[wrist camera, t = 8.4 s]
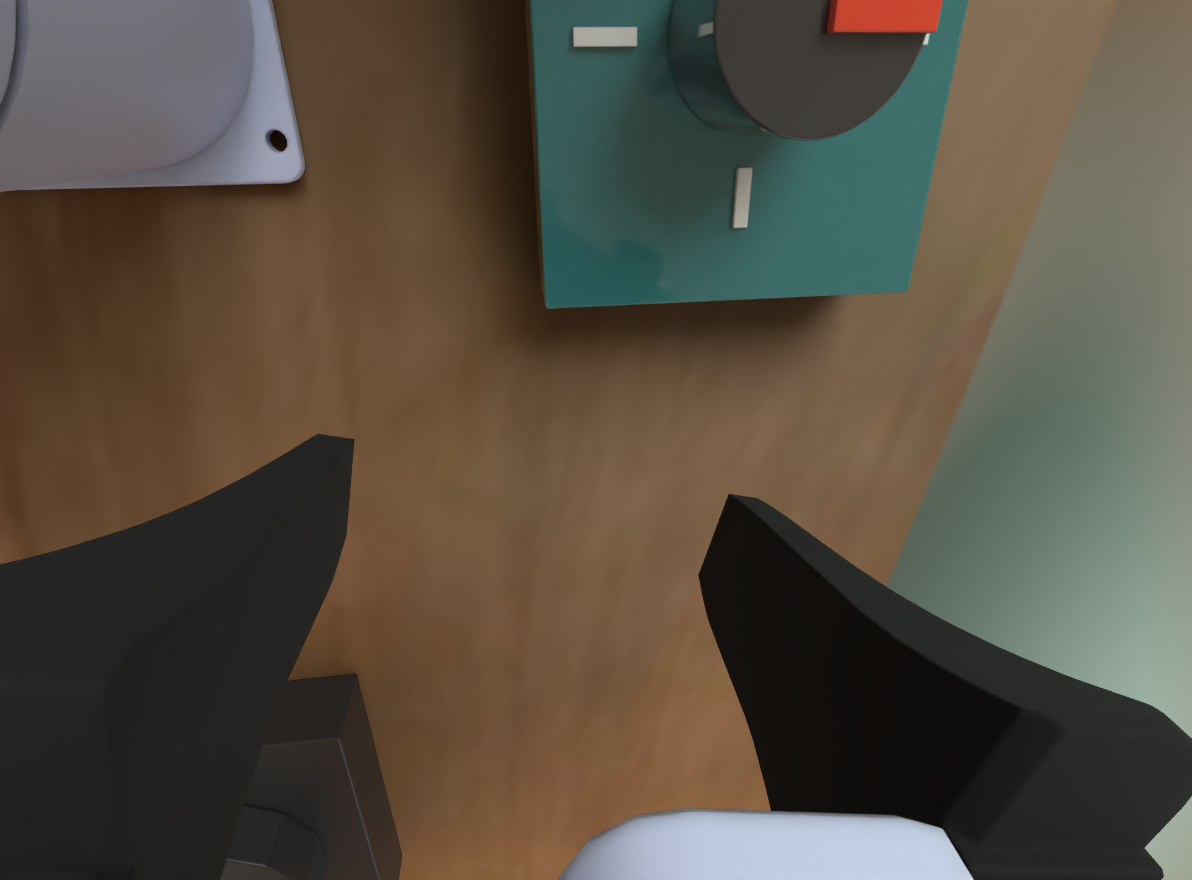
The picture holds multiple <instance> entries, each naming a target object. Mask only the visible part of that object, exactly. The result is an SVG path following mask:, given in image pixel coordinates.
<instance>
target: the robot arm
mask: <svg viewBox="0 0 1192 880" xmlns="http://www.w3.org/2000/svg"><path fill="white" fill-rule="evenodd" d="M274 130H278V131H280V132H281V133H283V134H284V135H285V137H286V139H287V148H286V149H285V150H284V151H283V152H281V151H278V150H276V149H275V148H274V147H273V146H272V144H271V141H270V135H271V133H272V132H273V131H274ZM304 170H305V160H304V155H303V150H302V145H301V140H300V135H299V130H298V125H297V120H296V115H295V110H294V105H293V100H292V95H291V90H290V85H289V81H288V76H287V71H286V66H285V61H284V56H283V51H282V46H281V41H280V36H279V31H278V26H277V21H276V16H275V11H274V6H273V1H272V0H0V192H4V191H11V190H41V189H81V188H120V187H159V186H198V185H237V184H277V183H289V182H293V181H296V180H298V179H299V178H300V177H301V176H302V175H303V172H304ZM353 450H354V439H349V438H343V437H336V436H329V435H322V434H317V435H315V436H314V437H312V438H310V439H308V440H307V441H305V442H303V443H302V444H300V445H298V446H297V447H295V448H294V449H292V450H290V451H289V452H287V453H285V454H284V455H282V456H280V457H279V458H277V459H275V460H274V461H272V462H270V463H268V464H267V465H265V466H263V467H261V468H260V469H258V470H256V471H255V472H253V473H251V474H249V475H248V476H246V477H244V478H242V479H240V480H238V481H236V482H234V483H232V484H230V485H228V486H226V487H224V488H222V489H220V490H218V491H216V492H214V493H212V494H210V495H208V496H206V497H204V498H202V499H200V500H198V501H196V502H194V503H191V504H189V505H187V506H185V507H182V508H180V509H178V510H175V511H173V512H170V513H168V514H165V515H163V516H160V517H158V518H155V519H152V520H150V521H147V522H145V523H142V524H139V525H137V526H134V527H131V528H128V529H125V530H122V531H119V532H115V533H112V534H109V535H106V536H102V537H99V538H96V539H93V540H90V541H86V542H83V543H80V544H77V545H74V546H70V547H67V548H64V549H60V550H57V551H53V552H49V553H45V554H41V555H37V556H33V557H29V558H25V559H21V560H17V561H13V562H8V563H4V564H0V880H221V876H222V873H223V870H224V867H225V863H226V860H227V857H228V854H229V850H230V847H231V844H232V841H233V837H234V834H235V831H236V828H237V825H238V821H239V818H240V815H241V812H242V809H243V806H244V803H245V800H246V796H247V793H248V790H249V787H250V784H251V781H252V778H253V775H254V772H255V768H256V765H257V762H258V759H259V756H260V753H261V750H262V747H263V744H264V741H265V738H266V735H267V732H268V729H269V726H270V723H271V721H272V718H273V715H274V712H275V709H276V706H277V704H278V701H279V699H280V696H281V694H282V692H283V689H284V687H285V684H286V682H287V680H288V678H289V675H290V673H291V671H292V669H293V667H294V665H295V662H296V660H297V658H298V656H299V654H300V651H301V649H302V647H303V645H304V643H305V641H306V638H307V636H308V634H309V632H310V630H311V628H312V625H313V623H314V621H315V619H316V617H317V614H318V612H319V610H320V608H321V606H322V603H323V601H324V599H325V597H326V594H327V592H328V590H329V588H330V585H331V583H332V581H333V578H334V575H335V571H336V568H337V565H338V562H339V558H340V555H341V551H342V548H343V545H344V541H345V538H346V534H347V522H348V510H349V498H350V486H351V474H352V462H353ZM699 580H700V585H701V590H702V595H703V600H704V604H705V609H706V613H707V617H708V620H709V623H710V626H711V629H712V631H713V634H714V637H715V639H716V642H717V645H718V647H719V650H720V653H721V655H722V658H723V661H724V663H725V666H726V668H727V671H728V673H729V676H730V679H731V681H732V684H733V686H734V689H735V691H736V694H737V697H738V699H739V702H740V704H741V707H742V710H743V712H744V715H745V717H746V720H747V723H748V726H749V729H750V732H751V735H752V738H753V742H754V745H755V749H756V753H757V757H758V760H759V764H760V768H761V772H762V775H763V779H764V783H765V787H766V791H767V795H768V799H769V804H770V808H771V811H754V810H724V809H695V808H684V809H676V810H669V811H662V812H655V813H647V814H640V815H635V816H633V817H631V818H629V819H627V820H625V821H623V822H621V823H619V824H617V825H615V826H613V827H611V828H609V829H607V830H605V831H603V832H601V833H599V834H597V835H595V836H593V837H591V838H590V839H589V840H588V842H587V843H586V844H585V845H584V846H583V847H582V849H581V850H580V851H579V853H578V854H577V855H576V856H575V858H574V859H573V860H572V861H571V863H570V864H569V865H568V867H567V868H566V869H565V870H564V872H563V873H562V874H561V875H560V877H559V878H558V880H1161V879H1162V878H1163V877H1164V875H1163V870H1162V868H1161V867H1160V866H1159V865H1158V863H1157V862H1156V861H1155V860H1154V859H1153V858H1152V857H1151V855H1149V853H1148V852H1147V851H1146V850H1145V846H1146V845H1147V844H1148V843H1149V842H1150V841H1151V840H1152V839H1153V838H1154V837H1155V836H1156V835H1157V834H1158V833H1159V832H1160V831H1161V830H1162V829H1163V827H1164V826H1165V825H1166V824H1167V823H1168V822H1169V821H1170V820H1171V819H1172V818H1173V817H1174V816H1175V815H1176V814H1177V813H1178V812H1179V811H1180V810H1181V809H1182V807H1183V806H1184V805H1185V804H1186V802H1187V801H1188V800H1189V799H1190V797H1191V796H1192V738H1190V737H1189V736H1188V735H1187V734H1186V733H1185V732H1184V731H1183V730H1182V729H1181V728H1180V727H1178V726H1177V725H1176V724H1175V723H1174V722H1173V721H1172V720H1171V719H1170V718H1168V717H1167V716H1166V715H1165V714H1164V713H1162V712H1161V711H1159V710H1158V709H1156V708H1155V707H1153V706H1151V705H1149V704H1146V703H1143V702H1140V701H1137V700H1135V699H1132V698H1129V697H1126V696H1123V695H1120V694H1117V693H1114V692H1112V691H1109V690H1106V689H1103V688H1100V687H1097V686H1094V685H1091V684H1089V683H1086V682H1083V681H1080V680H1077V679H1074V678H1072V677H1069V676H1066V675H1064V674H1061V673H1059V672H1056V671H1054V670H1051V669H1049V668H1047V667H1044V666H1041V665H1039V664H1037V663H1034V662H1032V661H1029V660H1027V659H1024V658H1022V657H1020V656H1018V655H1015V654H1013V653H1011V652H1009V651H1006V650H1004V649H1002V648H999V647H997V646H995V645H993V644H991V643H989V642H987V641H984V640H983V639H981V638H979V637H977V636H974V635H972V634H970V633H968V632H966V631H964V630H962V629H960V628H958V627H956V626H954V625H952V624H950V623H948V622H946V621H944V620H943V619H941V618H939V617H937V616H935V615H933V614H932V613H930V612H928V611H926V610H925V609H923V608H921V607H919V606H918V605H916V604H914V603H912V602H911V601H909V600H907V599H905V598H904V597H902V596H900V595H899V594H897V593H895V592H894V591H892V590H891V589H889V588H887V587H886V586H884V585H883V584H881V583H880V582H878V581H877V580H875V579H874V578H872V577H871V576H869V575H868V574H866V573H865V572H863V571H862V570H860V569H859V568H857V567H856V566H854V565H853V564H851V563H850V562H848V561H847V560H846V559H844V558H843V557H841V556H840V555H839V554H837V553H836V552H834V551H833V550H832V549H830V548H829V547H827V546H826V545H825V544H823V543H822V542H821V541H819V540H818V539H816V538H815V537H814V536H812V535H811V534H810V533H808V532H807V531H806V530H804V529H803V528H801V527H800V526H799V525H797V524H796V523H795V522H793V521H792V520H790V519H789V518H788V517H786V516H785V515H783V514H782V513H780V512H779V511H778V510H776V509H775V508H773V507H771V506H770V505H768V504H767V503H765V502H763V501H761V500H759V499H758V498H753V497H746V496H739V495H733V494H729V495H728V497H727V500H726V503H725V506H724V508H723V511H722V514H721V516H720V519H719V522H718V524H717V527H716V530H715V532H714V535H713V538H712V540H711V543H710V546H709V548H708V551H707V554H706V556H705V559H704V562H703V564H702V567H701V570H700V573H699Z"/></svg>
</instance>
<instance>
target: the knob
mask: <svg viewBox="0 0 1192 880" xmlns="http://www.w3.org/2000/svg"><path fill="white" fill-rule="evenodd" d="M942 1H943V0H675V2H674V5H673V9H672V14H671V19H670V25H669V36H668V37H669V56H670V64H671V68H672V72H673V76H674V78H675V81H676V84H677V86H678V89H679V91H680V92H681V94H682V96H683V98H684V100H685V101H686V102H687V104H688V105H689V107H690V108H691V109H692V110H693V111H694V112H695V113H696V114H697V115H698V117H700V118H701V119H702V120H703V121H705V122H706V123H707V124H709V125H711V126H712V127H714V128H716V129H718V130H721V131H723V132H726V133H730V134H735V135H743V136H753V137H764V138H775V139H786V140H798V141H814V140H823V139H827V138H831V137H835V136H837V135H840V134H843V133H845V132H848V131H850V130H851V129H853V128H855V127H857V126H859V125H861V124H862V123H863V122H865V121H866V120H868V119H869V118H870V117H872V116H873V115H874V114H875V113H876V112H878V111H879V110H880V109H881V108H882V107H883V106H884V105H885V104H886V103H887V102H888V101H889V100H890V99H891V97H892V96H893V95H894V94H895V93H896V92H897V90H898V89H899V88H900V86H901V85H902V83H903V82H904V81H905V79H906V78H907V76H908V74H909V73H910V71H911V69H912V67H913V66H914V64H915V62H916V59H917V57H918V55H919V53H920V51H921V48H922V45H923V43H924V40H925V37H926V34H929V33H934V32H936V30H937V26H938V21H939V16H940V11H941V6H942Z"/></svg>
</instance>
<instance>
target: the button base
mask: <svg viewBox="0 0 1192 880" xmlns="http://www.w3.org/2000/svg"><path fill="white" fill-rule="evenodd" d="M401 861H402V853H401V849H400V845H399V841H398V837H397V833H396V829H395V825H394V821H393V817H392V813H391V809H390V805H389V801H388V797H387V793H386V789H385V785H384V781H383V777H382V773H381V770H380V766H379V762H378V758H377V754H376V750H375V746H374V742H373V738H372V734H371V730H370V726H369V722H368V718H367V714H366V710H365V706H364V702H363V698H362V694H361V690H360V686H359V682H358V679H357V675H356V674H350V675H340V676H330V677H321V678H311V679H301V680H291V681H287V682H286V684H285V687H284V689H283V692H282V694H281V696H280V699H279V701H278V704H277V706H276V709H275V712H274V715H273V718H272V721H271V723H270V726H269V729H268V732H267V735H266V738H265V741H264V744H263V747H262V750H261V753H260V756H259V759H258V762H257V765H256V768H255V772H254V775H253V778H252V781H251V784H250V787H249V790H248V793H247V796H246V800H245V803H244V806H243V809H242V812H241V815H240V818H239V821H238V825H237V828H236V831H235V834H234V837H233V841H232V844H231V847H230V850H229V854H228V857H227V860H226V863H225V867H224V870H223V873H222V876H221V880H399V875H400V868H401Z"/></svg>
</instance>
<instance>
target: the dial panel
mask: <svg viewBox="0 0 1192 880" xmlns="http://www.w3.org/2000/svg"><path fill="white" fill-rule="evenodd" d="M674 2H675V0H525V8H526V27H527V46H528V65H529V84H530V102H531V121H532V140H533V159H534V178H535V197H536V215H537V234H538V253H539V272H540V284H541V289H542V294H543V299H544V304H545V308H547V309H555V308H577V307H598V306H620V305H641V304H662V303H684V302H705V301H727V300H748V299H769V298H791V297H812V296H834V295H855V294H876V293H898V292H907V291H908V287H909V282H910V278H911V273H912V268H913V263H914V258H915V254H916V249H917V244H918V239H919V234H920V229H921V225H922V220H923V215H924V210H925V205H926V201H927V196H928V191H929V186H930V181H931V177H932V172H933V167H934V162H935V157H936V153H937V148H938V143H939V138H940V133H941V128H942V124H943V119H944V114H945V109H946V104H947V100H948V95H949V90H950V85H951V80H952V76H953V71H954V66H955V61H956V56H957V51H958V47H959V42H960V37H961V32H962V27H963V23H964V18H965V13H966V8H967V3H968V0H943V1H942V6H941V11H940V16H939V21H938V26H937V30H936V32H934V33H929V34H926V37H925V40H924V43H923V45H922V48H921V51H920V53H919V55H918V57H917V59H916V62H915V64H914V66H913V67H912V69H911V71H910V73H909V74H908V76H907V78H906V79H905V81H904V82H903V83H902V85H901V86H900V88H899V89H898V90H897V92H896V93H895V94H894V95H893V96H892V97H891V99H890V100H889V101H888V102H887V103H886V104H885V105H884V106H883V107H882V108H881V109H880V110H879V111H878V112H876V113H875V114H874V115H873V116H872V117H870V118H869V119H868V120H866V121H865V122H863V123H862V124H861V125H859V126H857V127H855V128H853V129H851V130H850V131H848V132H845V133H843V134H840V135H837V136H835V137H831V138H827V139H823V140H814V141H798V140H786V139H775V138H764V137H753V136H743V135H735V134H730V133H726V132H723V131H721V130H718V129H716V128H714V127H712V126H711V125H709V124H707V123H706V122H705V121H703V120H702V119H701V118H700V117H698V115H697V114H696V113H695V112H694V111H693V110H692V109H691V108H690V107H689V105H688V104H687V102H686V101H685V100H684V98H683V96H682V94H681V92H680V91H679V89H678V86H677V84H676V81H675V78H674V76H673V72H672V68H671V64H670V56H669V37H668V36H669V25H670V19H671V14H672V9H673V5H674Z"/></svg>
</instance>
